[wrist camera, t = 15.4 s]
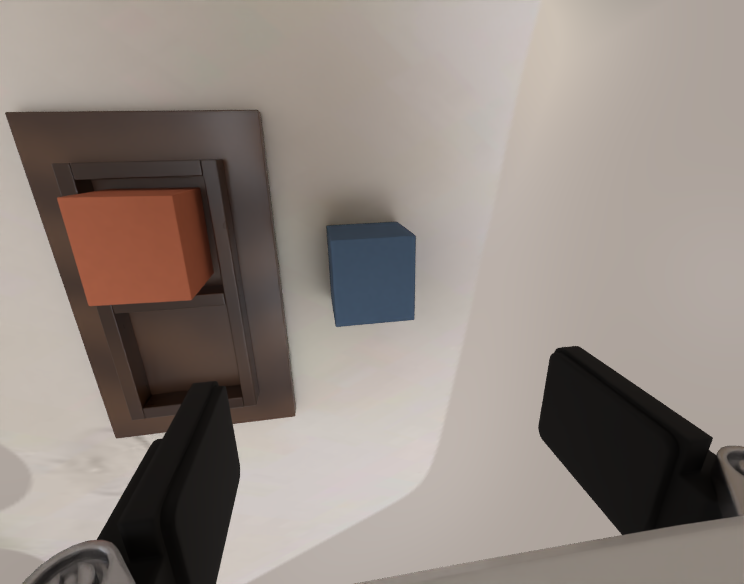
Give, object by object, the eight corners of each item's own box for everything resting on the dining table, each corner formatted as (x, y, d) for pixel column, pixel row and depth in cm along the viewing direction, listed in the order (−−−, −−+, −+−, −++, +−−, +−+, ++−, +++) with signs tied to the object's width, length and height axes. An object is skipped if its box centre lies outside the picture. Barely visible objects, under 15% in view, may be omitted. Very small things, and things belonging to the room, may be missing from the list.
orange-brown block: (109, 188, 20) (56, 197, 15) (200, 187, 20) (172, 195, 16) (131, 277, 21) (88, 306, 17) (213, 273, 22) (191, 300, 18)
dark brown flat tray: (19, 114, 19) (-22, 108, 16) (260, 111, 20) (254, 106, 18) (122, 428, 26) (103, 455, 23) (295, 407, 27) (294, 430, 25)
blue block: (326, 225, 23) (330, 240, 19) (397, 221, 24) (416, 235, 20) (331, 298, 25) (335, 327, 21) (397, 293, 26) (414, 320, 21)
